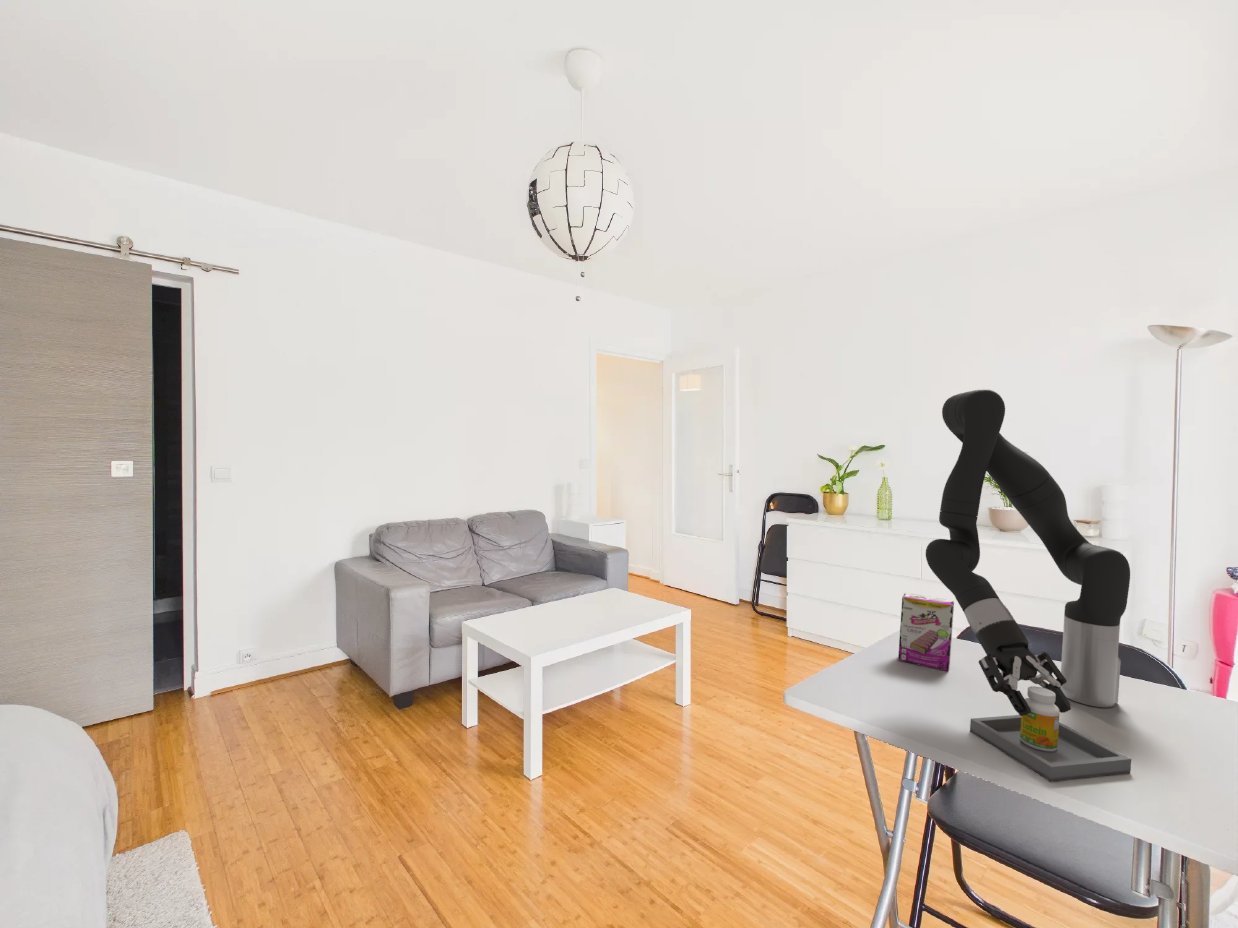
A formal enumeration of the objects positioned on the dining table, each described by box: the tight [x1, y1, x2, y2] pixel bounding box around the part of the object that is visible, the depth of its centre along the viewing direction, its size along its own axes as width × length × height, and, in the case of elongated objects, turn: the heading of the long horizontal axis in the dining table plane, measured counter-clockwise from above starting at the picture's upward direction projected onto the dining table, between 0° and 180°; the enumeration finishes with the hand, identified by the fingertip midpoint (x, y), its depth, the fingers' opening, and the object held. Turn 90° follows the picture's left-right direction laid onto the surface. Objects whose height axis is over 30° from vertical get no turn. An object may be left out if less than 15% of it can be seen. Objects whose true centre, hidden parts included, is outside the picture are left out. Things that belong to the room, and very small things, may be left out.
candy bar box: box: [897, 592, 955, 672], centre depth 139 cm, size 11×5×16 cm, turn 58°
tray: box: [969, 714, 1132, 783], centre depth 100 cm, size 16×16×2 cm
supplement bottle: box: [1020, 685, 1060, 752], centre depth 101 cm, size 5×5×10 cm
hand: (1046, 712), depth 100 cm, fingers open, 8 cm apart
